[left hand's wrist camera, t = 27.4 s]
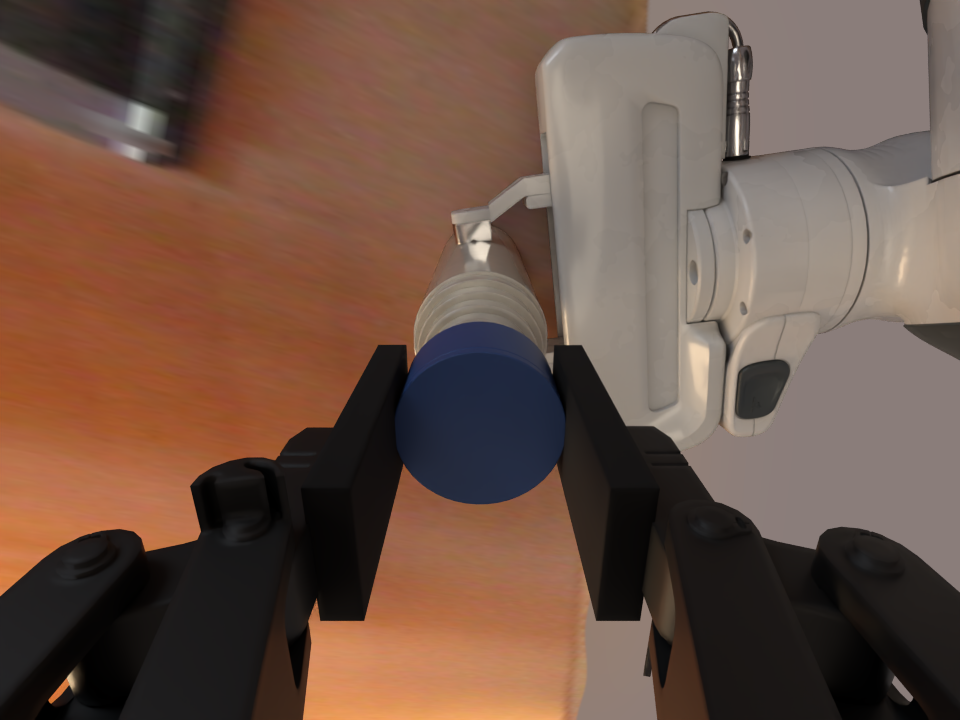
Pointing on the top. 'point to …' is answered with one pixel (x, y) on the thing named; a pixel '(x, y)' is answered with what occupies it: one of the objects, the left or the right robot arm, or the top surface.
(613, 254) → the right robot arm
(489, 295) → the bottle
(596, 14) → the top surface
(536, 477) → the cap
